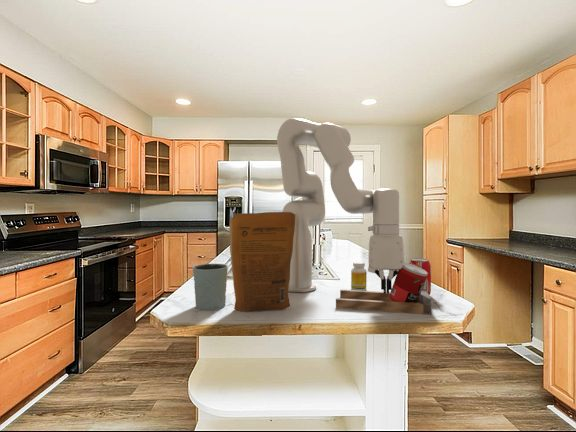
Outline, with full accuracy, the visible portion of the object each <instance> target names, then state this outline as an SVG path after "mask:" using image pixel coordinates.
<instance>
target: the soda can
mask: <svg viewBox="0 0 576 432" xmlns="http://www.w3.org/2000/svg"><path fill="white" fill-rule="evenodd" d="M409 264H412V265H415V266H417V267H420V268H422V269H423V270H425V271H426V272H427V273H428V275H427V278H426V281H425V283H424V286H423V288H422V289H426V291H427V293H428V295H429V296H430V295H431V290H432V265H431V263H430V259H429V258H420V257H418V258H417V257H414V258H410V261H409Z"/></svg>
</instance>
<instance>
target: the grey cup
mask: <svg viewBox="0 0 576 432" xmlns="http://www.w3.org/2000/svg"><path fill="white" fill-rule="evenodd" d="M228 269H229V268H228V265H227V264H224V263H203V264H195V265H194V266H192V273H193V282H194V283H193V284H194V288H193V289H194V295H195V296H194V297H195V298H194V299H195V308H196V309H197V310H200V311H217V310H221V309H223V308H225V307H226V303H227V302H226V299H227V296H226V294H227V293H226V292H227V281H228V271H229V270H228Z"/></svg>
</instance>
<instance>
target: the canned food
mask: <svg viewBox="0 0 576 432" xmlns="http://www.w3.org/2000/svg"><path fill="white" fill-rule="evenodd" d="M409 263H410V262H409ZM409 263H408V262H404V266H403V268H402V269H401V270H398V274H397V275H396V276H395V277H394V282H393V283H392V290H390V291H389V292H390V299H391V300H392V302H408V303H417V301H418V298H419V296H420V293H421V291H422V288H423V286H424V283H425V281H426V278H427V275H428V273H427V272H426V271H425V270H423V269H422V268H420V267H417V266H415V265H412V264H409Z"/></svg>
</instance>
